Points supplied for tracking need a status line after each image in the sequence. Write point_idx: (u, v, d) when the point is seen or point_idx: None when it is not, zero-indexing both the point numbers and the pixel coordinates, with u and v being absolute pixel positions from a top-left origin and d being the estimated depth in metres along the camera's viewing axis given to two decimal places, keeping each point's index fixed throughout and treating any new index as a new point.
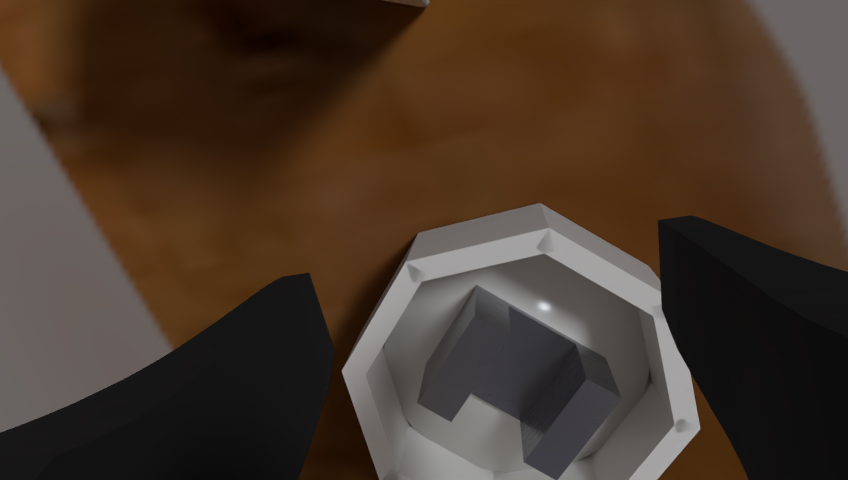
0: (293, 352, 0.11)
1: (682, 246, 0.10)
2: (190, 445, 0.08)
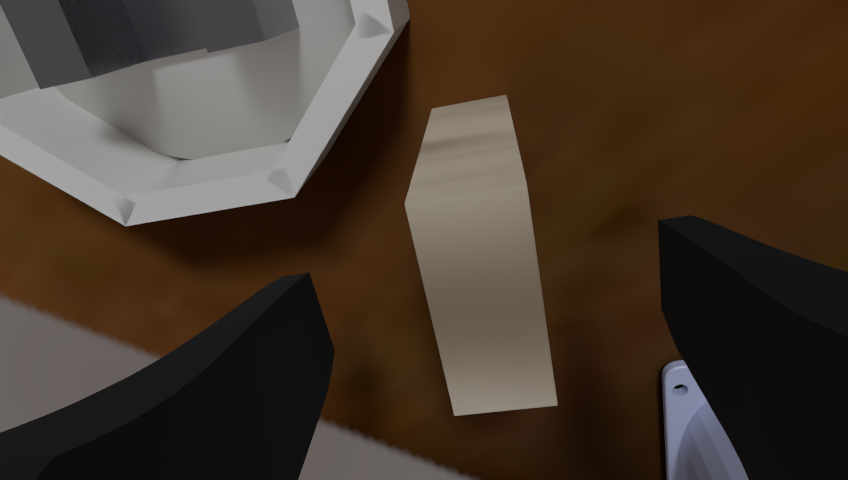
0: (293, 352, 0.11)
1: (682, 246, 0.10)
2: (190, 445, 0.08)
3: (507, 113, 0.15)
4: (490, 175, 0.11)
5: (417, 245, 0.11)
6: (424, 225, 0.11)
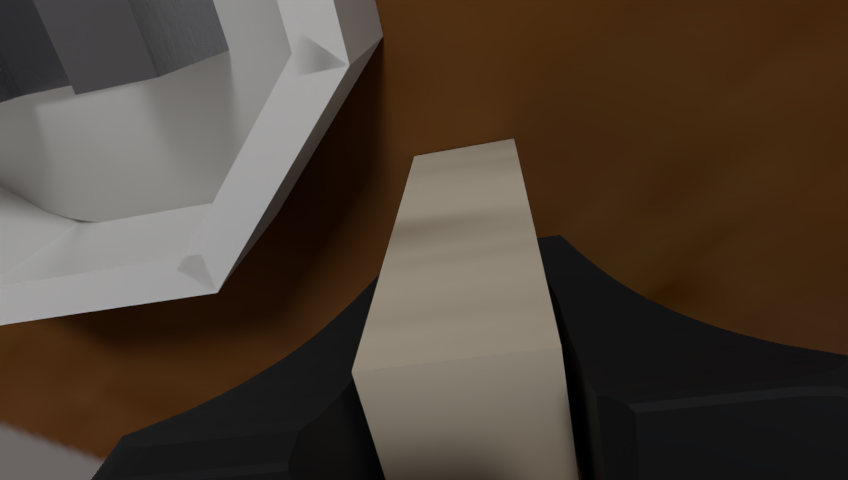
0: None
1: None
2: None
3: (517, 173, 0.11)
4: (498, 313, 0.07)
5: (375, 432, 0.07)
6: (386, 404, 0.06)
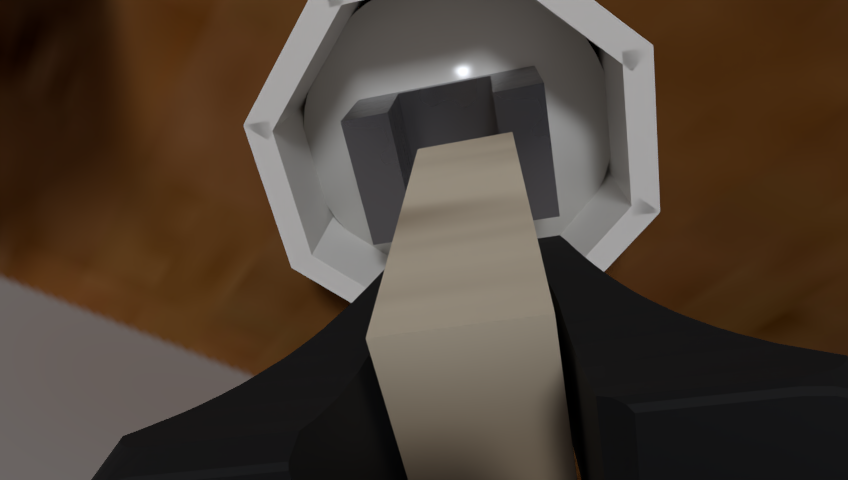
0: None
1: None
2: (371, 426, 0.07)
3: (515, 163, 0.11)
4: (497, 286, 0.07)
5: (386, 395, 0.07)
6: (397, 369, 0.07)
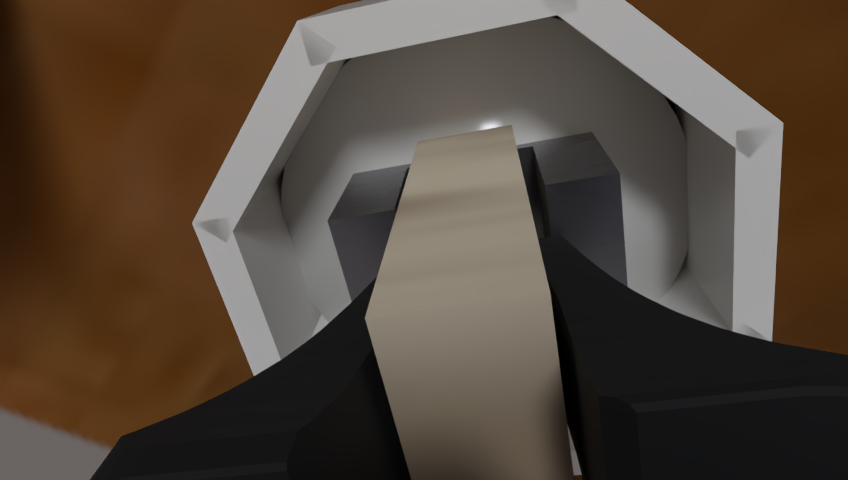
0: None
1: None
2: (370, 426, 0.07)
3: (514, 154, 0.11)
4: (494, 269, 0.07)
5: (385, 374, 0.07)
6: (395, 347, 0.07)
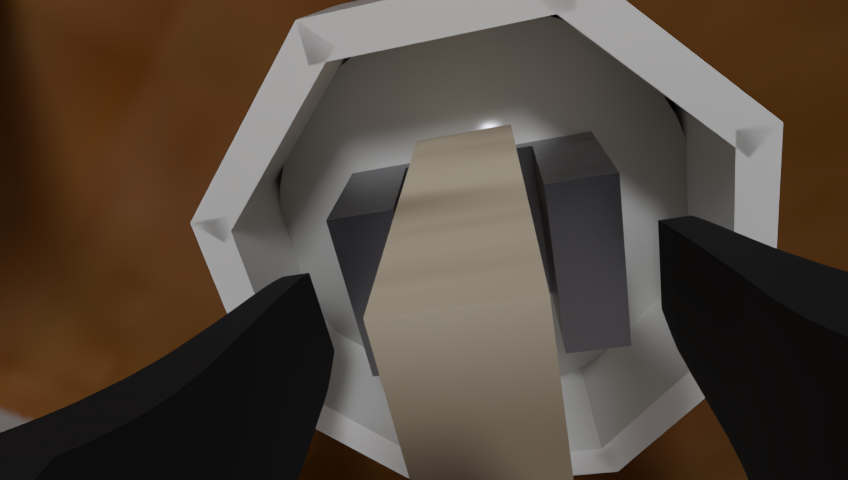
0: (293, 352, 0.11)
1: (682, 246, 0.10)
2: (190, 445, 0.08)
3: (513, 154, 0.11)
4: (493, 270, 0.07)
5: (384, 375, 0.07)
6: (394, 349, 0.07)
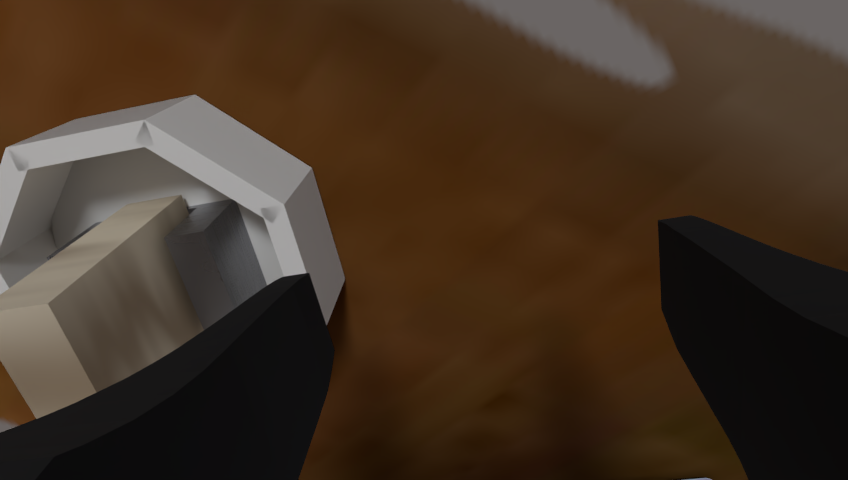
0: (293, 352, 0.11)
1: (682, 246, 0.10)
2: (190, 445, 0.08)
3: (149, 219, 0.19)
4: (45, 291, 0.15)
5: None
6: None
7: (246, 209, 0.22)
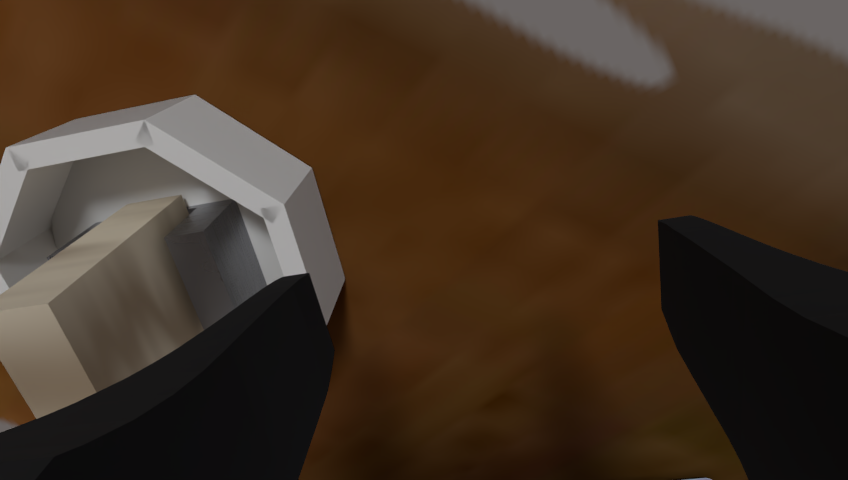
0: (293, 352, 0.11)
1: (682, 246, 0.10)
2: (190, 445, 0.08)
3: (149, 219, 0.19)
4: (45, 291, 0.15)
5: None
6: None
7: (246, 209, 0.22)
